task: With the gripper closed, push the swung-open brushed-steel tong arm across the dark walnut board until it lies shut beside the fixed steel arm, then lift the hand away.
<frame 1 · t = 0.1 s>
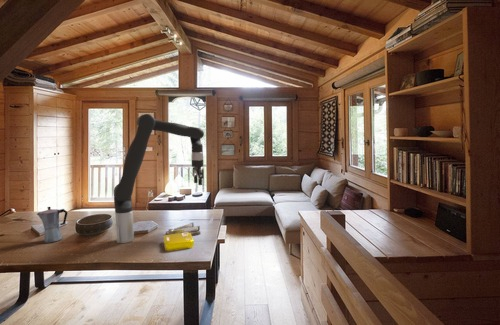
hand: (198, 184, 182), 29 cm above the table, fingers open, 8 cm apart
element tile: (178, 245, 156), on the table
tong board: (183, 234, 173), on the table
tong fixed arm: (171, 234, 168), resting on tong board
tong swing arm: (184, 227, 176), point 3 cm above the table, hinge at 22.0°
moka pot: (54, 240, 164), on the table
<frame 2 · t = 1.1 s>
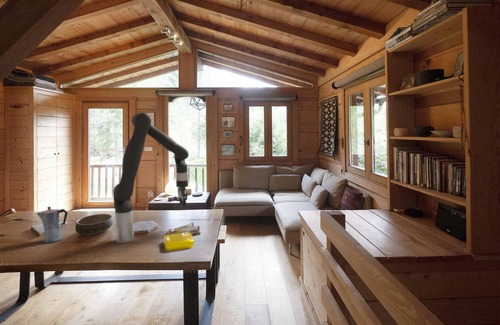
hand: (182, 204, 182), 16 cm above the table, fingers open, 5 cm apart
nothing on the table moved.
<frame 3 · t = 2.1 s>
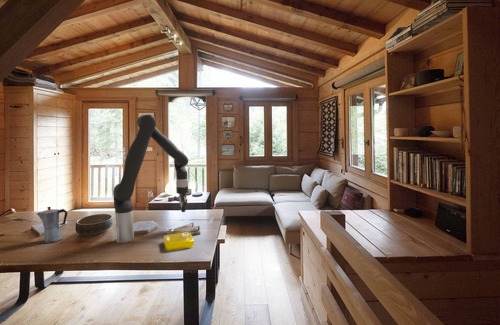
hand: (183, 211, 183), 11 cm above the table, fingers closed
nothing on the table moved.
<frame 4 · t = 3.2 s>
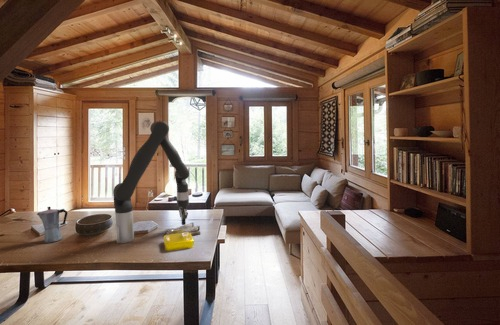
hand: (183, 224, 183), 3 cm above the table, fingers closed
nothing on the table moved.
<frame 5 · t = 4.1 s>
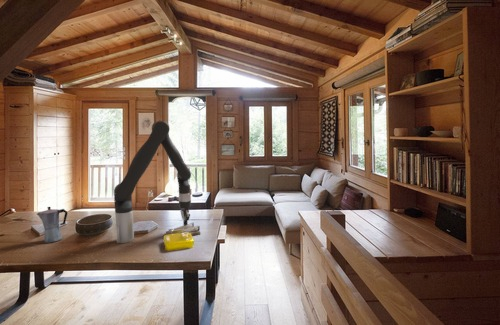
hand: (185, 226, 180), 3 cm above the table, fingers closed
tong swing arm: (184, 227, 176), point 3 cm above the table, hinge at 21.6°, touching gripper
everything else where it was.
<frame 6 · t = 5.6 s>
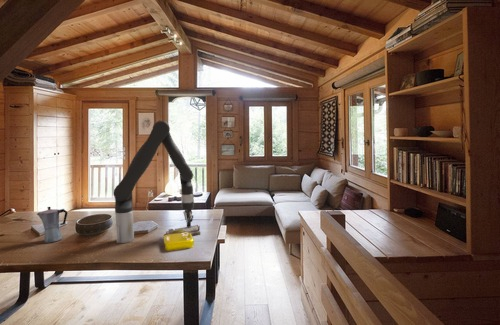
hand: (188, 227, 176), 3 cm above the table, fingers closed
tong swing arm: (186, 228, 173), point 3 cm above the table, hinge at 0.7°, touching gripper
everything else where it was.
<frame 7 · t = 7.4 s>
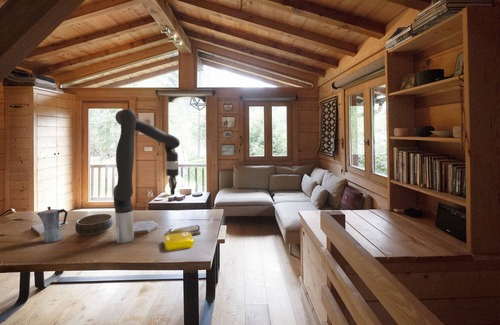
hand: (172, 194, 181), 22 cm above the table, fingers closed
tong swing arm: (187, 229, 173), point 3 cm above the table, hinge at 0.6°
everything else where it was.
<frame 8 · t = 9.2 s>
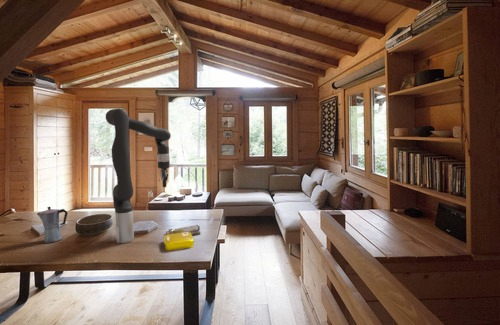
hand: (164, 187, 183), 27 cm above the table, fingers closed
nothing on the table moved.
at the end: tong swing arm at +1° (first picture: +22°) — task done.
